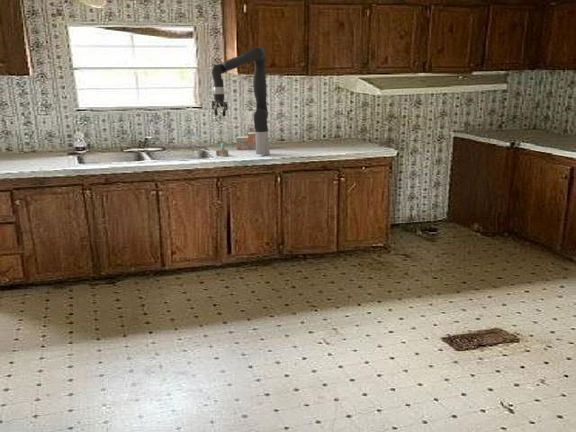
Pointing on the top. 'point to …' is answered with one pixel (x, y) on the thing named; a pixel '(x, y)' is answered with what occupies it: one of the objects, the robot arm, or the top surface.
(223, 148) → the dowel
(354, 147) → the top surface
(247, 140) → the stack of blocks
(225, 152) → the block
